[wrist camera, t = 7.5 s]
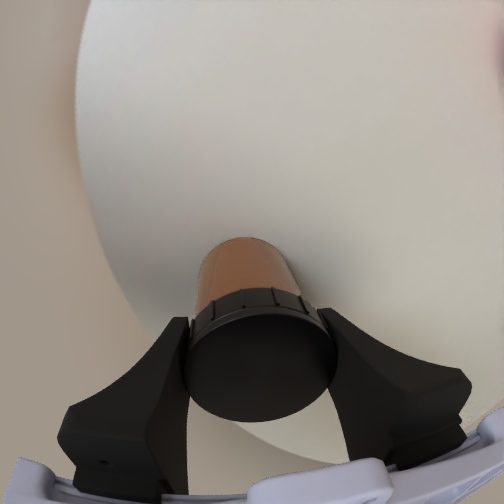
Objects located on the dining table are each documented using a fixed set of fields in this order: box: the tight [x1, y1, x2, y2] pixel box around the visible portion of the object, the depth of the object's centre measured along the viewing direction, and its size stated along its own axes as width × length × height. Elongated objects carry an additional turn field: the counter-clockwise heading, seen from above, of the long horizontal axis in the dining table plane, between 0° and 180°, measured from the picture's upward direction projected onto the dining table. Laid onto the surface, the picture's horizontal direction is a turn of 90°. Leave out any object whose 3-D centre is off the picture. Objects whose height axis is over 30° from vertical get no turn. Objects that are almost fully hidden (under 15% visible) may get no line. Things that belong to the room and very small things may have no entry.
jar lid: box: [182, 287, 337, 422], centre depth 11 cm, size 6×6×2 cm
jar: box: [195, 238, 304, 318], centre depth 14 cm, size 5×5×7 cm
